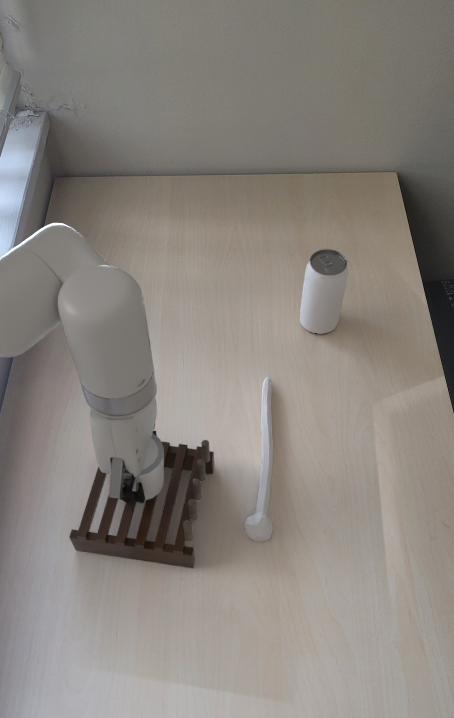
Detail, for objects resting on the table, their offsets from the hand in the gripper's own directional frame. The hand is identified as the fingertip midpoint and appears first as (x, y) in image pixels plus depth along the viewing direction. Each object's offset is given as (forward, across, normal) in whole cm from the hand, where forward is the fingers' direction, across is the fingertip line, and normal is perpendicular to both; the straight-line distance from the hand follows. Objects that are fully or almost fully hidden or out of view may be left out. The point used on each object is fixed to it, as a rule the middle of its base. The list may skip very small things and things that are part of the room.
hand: (139, 473), depth 81 cm
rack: (+9, 0, 0) cm, 9 cm away
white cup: (+2, 0, 0) cm, 2 cm away
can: (+9, -39, +20) cm, 45 cm away
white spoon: (+9, -11, +14) cm, 20 cm away
